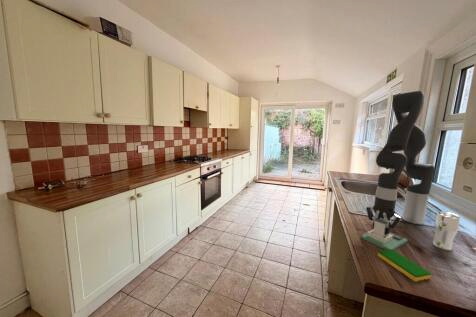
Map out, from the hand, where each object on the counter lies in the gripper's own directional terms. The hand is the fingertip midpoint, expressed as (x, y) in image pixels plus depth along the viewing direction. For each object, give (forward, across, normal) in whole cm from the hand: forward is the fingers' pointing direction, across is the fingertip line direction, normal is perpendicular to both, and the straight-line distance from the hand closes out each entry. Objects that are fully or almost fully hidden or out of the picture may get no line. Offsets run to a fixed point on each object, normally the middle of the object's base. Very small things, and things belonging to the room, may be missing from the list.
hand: (380, 232), depth 89 cm
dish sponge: (+5, -13, +12) cm, 18 cm away
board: (+4, -1, -2) cm, 5 cm away
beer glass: (+4, -16, -20) cm, 26 cm away
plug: (+2, 0, 0) cm, 2 cm away
